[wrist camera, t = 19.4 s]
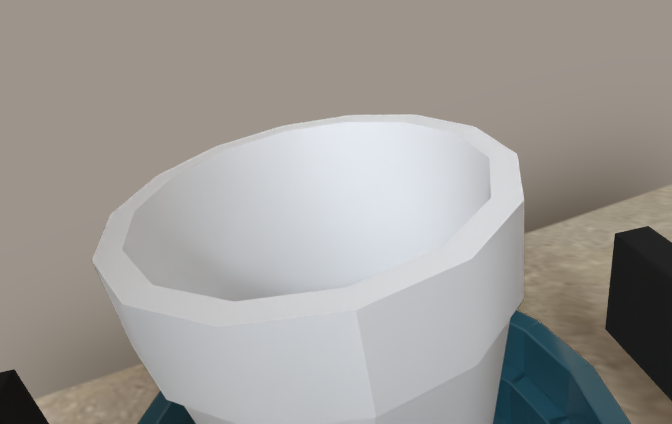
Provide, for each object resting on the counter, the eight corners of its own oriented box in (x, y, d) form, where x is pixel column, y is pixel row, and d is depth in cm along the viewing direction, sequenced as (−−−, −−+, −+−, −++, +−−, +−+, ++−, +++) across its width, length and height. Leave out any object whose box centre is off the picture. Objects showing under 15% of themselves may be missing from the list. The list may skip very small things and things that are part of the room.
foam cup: (420, 375, 23) (385, 94, 17) (591, 571, 15) (637, 185, 9) (217, 479, 20) (88, 185, 14) (301, 781, 13) (98, 423, 7)
